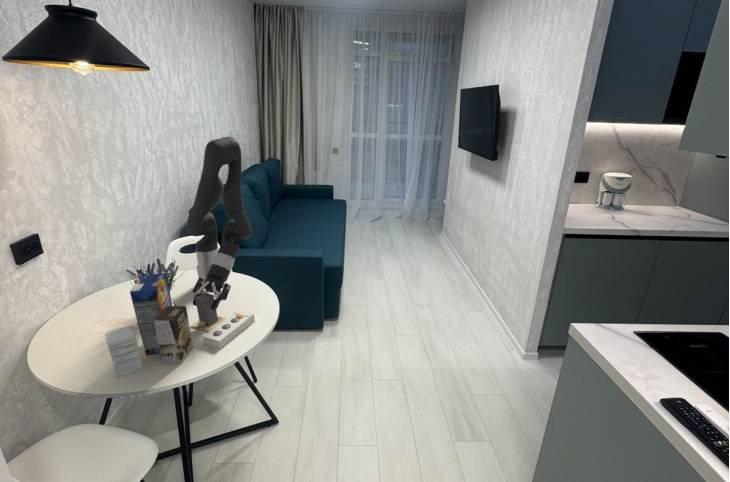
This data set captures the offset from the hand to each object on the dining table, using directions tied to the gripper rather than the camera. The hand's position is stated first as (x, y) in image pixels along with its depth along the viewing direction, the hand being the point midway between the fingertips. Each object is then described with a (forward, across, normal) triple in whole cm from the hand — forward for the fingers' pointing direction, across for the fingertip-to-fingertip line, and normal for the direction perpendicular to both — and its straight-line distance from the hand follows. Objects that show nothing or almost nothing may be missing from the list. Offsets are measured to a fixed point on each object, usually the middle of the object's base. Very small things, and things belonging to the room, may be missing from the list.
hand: (203, 307), depth 141 cm
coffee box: (+18, +4, -7) cm, 19 cm away
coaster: (+4, 0, +6) cm, 8 cm away
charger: (+4, 0, +6) cm, 7 cm away
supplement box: (+25, -5, -14) cm, 29 cm away
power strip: (+5, +11, +5) cm, 14 cm away
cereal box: (+16, -6, -5) cm, 18 cm away
